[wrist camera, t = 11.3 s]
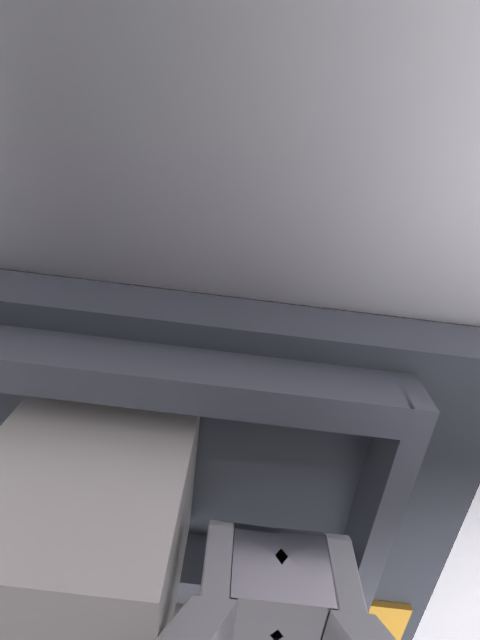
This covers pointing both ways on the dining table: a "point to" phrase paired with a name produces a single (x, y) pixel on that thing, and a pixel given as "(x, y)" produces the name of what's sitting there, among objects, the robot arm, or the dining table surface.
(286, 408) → the switch bank
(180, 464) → the tab
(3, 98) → the dining table surface
